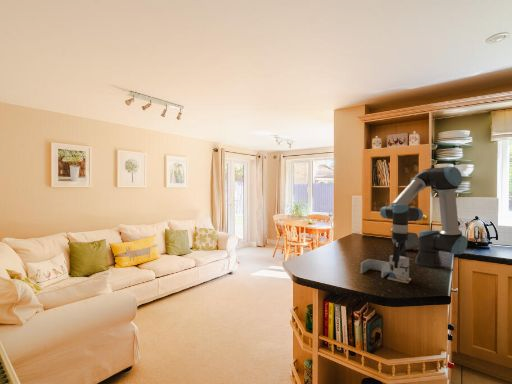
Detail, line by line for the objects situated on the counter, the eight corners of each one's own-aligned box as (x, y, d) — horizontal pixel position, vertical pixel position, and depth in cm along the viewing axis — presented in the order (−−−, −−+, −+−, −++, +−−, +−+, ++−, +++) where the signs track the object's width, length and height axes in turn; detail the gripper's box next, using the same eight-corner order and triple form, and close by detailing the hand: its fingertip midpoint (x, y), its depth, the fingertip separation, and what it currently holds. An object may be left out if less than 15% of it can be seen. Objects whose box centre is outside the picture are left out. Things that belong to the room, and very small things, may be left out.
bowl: (422, 250, 232) (423, 233, 232) (411, 252, 220) (411, 234, 221) (399, 246, 249) (399, 230, 249) (386, 248, 237) (387, 231, 238)
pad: (391, 275, 153) (391, 274, 153) (411, 279, 147) (411, 278, 147) (387, 279, 146) (387, 278, 146) (407, 283, 140) (407, 282, 140)
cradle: (368, 268, 168) (368, 258, 168) (390, 272, 160) (390, 262, 160) (360, 273, 157) (360, 262, 157) (383, 277, 149) (383, 266, 149)
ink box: (388, 276, 148) (389, 255, 148) (393, 275, 151) (393, 254, 151) (404, 281, 141) (405, 258, 142) (409, 279, 144) (409, 257, 145)
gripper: (397, 229, 159) (397, 266, 158) (386, 233, 140) (385, 274, 139) (412, 231, 154) (411, 268, 153) (402, 235, 135) (401, 278, 134)
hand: (399, 271), depth 146 cm, fingers open, 13 cm apart
